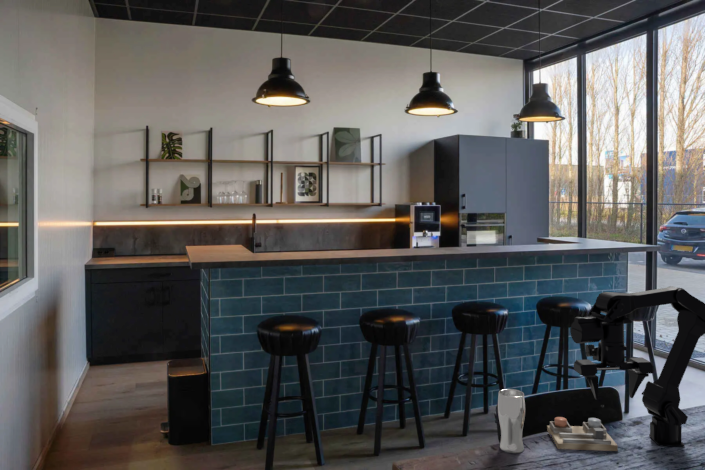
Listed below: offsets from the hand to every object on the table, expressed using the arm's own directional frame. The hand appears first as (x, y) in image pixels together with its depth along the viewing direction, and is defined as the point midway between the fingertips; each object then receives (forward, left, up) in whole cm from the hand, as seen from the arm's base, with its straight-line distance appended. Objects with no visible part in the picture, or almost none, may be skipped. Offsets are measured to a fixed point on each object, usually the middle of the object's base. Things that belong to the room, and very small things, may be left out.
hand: (613, 398), depth 142 cm
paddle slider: (+4, +1, -11) cm, 12 cm away
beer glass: (+27, +4, -13) cm, 30 cm away
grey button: (+3, -6, -10) cm, 12 cm away
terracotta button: (+12, -6, -10) cm, 17 cm away
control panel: (+8, -3, -13) cm, 15 cm away
